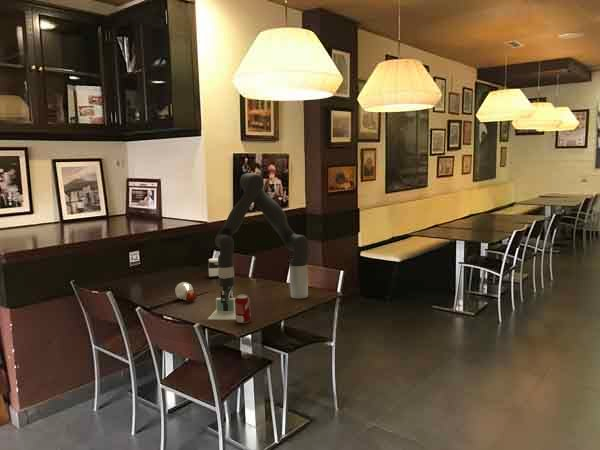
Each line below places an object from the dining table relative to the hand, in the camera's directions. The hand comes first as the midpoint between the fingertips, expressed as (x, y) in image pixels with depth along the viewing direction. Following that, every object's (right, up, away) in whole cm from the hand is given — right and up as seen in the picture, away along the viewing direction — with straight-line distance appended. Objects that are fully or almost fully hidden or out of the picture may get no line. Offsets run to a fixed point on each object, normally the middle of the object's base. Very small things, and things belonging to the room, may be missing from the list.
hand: (228, 308), depth 237 cm
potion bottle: (-26, 0, +25) cm, 36 cm away
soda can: (+9, -4, -14) cm, 17 cm away
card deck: (-1, -2, 0) cm, 2 cm away
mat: (0, -3, -3) cm, 4 cm away
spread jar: (-17, +7, +74) cm, 76 cm away
